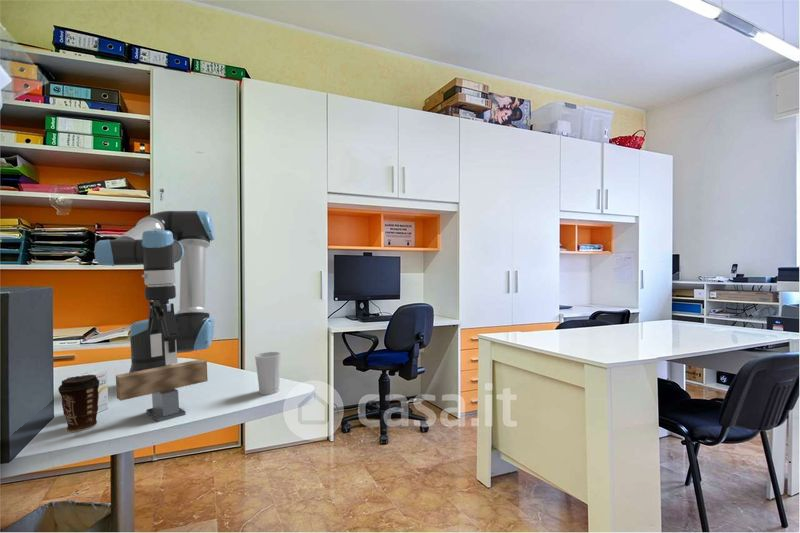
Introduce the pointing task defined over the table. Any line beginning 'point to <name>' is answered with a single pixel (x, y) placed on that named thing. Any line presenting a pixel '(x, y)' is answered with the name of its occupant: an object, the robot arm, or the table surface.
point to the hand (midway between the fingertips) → (163, 360)
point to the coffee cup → (80, 401)
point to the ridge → (165, 405)
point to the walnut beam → (160, 379)
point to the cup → (268, 372)
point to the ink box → (102, 388)
